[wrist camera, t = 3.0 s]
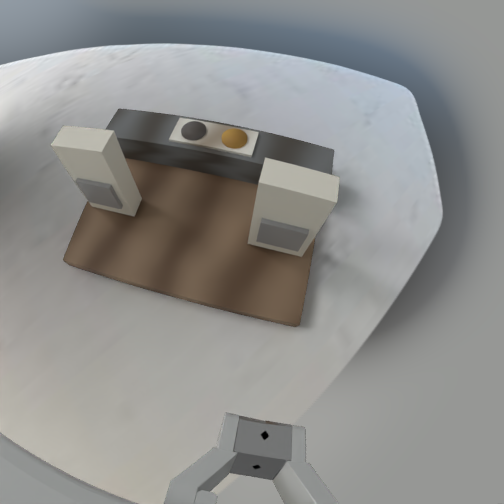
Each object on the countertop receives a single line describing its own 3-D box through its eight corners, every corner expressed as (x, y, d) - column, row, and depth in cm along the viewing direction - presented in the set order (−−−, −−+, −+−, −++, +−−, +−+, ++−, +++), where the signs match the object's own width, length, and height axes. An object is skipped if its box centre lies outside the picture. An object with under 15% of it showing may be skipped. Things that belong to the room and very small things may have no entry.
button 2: (90, 210, 28) (48, 149, 19) (99, 189, 29) (63, 125, 20) (133, 220, 28) (99, 156, 19) (141, 198, 29) (113, 130, 20)
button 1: (246, 247, 28) (257, 187, 19) (252, 224, 29) (265, 157, 20) (300, 260, 28) (336, 208, 19) (305, 237, 29) (339, 177, 20)
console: (69, 264, 28) (43, 244, 23) (133, 128, 34) (123, 96, 29) (295, 327, 28) (311, 317, 23) (322, 167, 34) (336, 136, 29)
